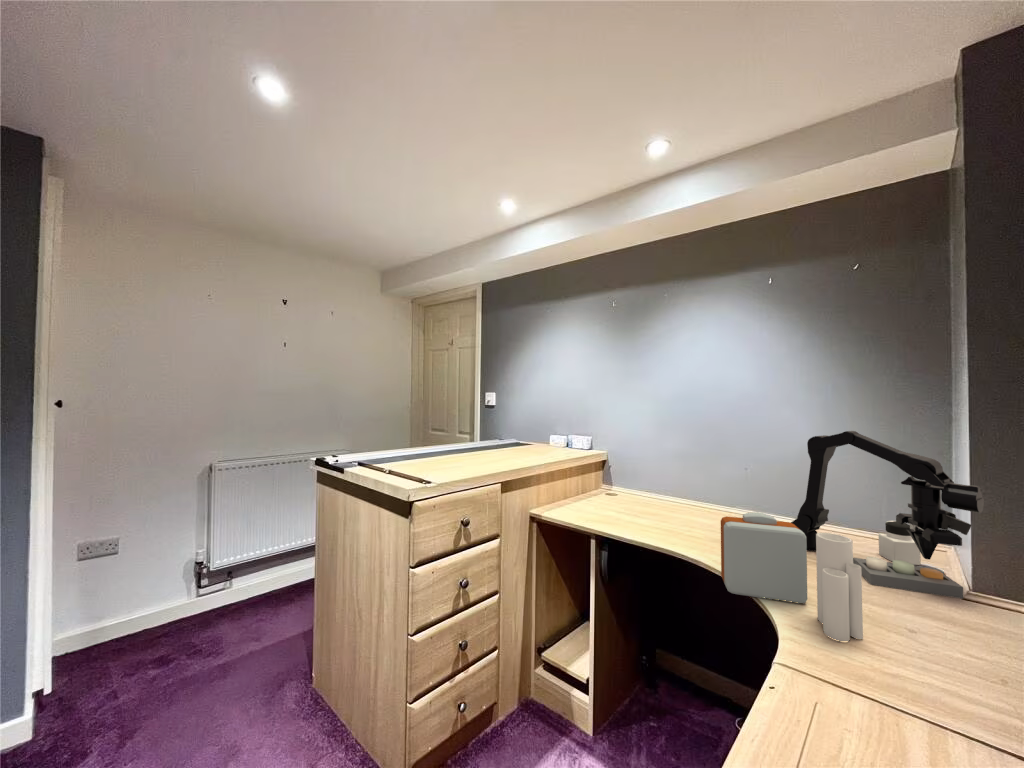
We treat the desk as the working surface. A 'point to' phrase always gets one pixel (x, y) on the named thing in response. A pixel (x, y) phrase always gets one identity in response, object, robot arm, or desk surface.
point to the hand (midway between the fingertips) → (926, 558)
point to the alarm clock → (764, 557)
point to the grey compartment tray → (910, 580)
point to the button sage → (903, 567)
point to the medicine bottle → (898, 544)
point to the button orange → (931, 573)
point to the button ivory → (876, 564)
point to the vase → (838, 587)
